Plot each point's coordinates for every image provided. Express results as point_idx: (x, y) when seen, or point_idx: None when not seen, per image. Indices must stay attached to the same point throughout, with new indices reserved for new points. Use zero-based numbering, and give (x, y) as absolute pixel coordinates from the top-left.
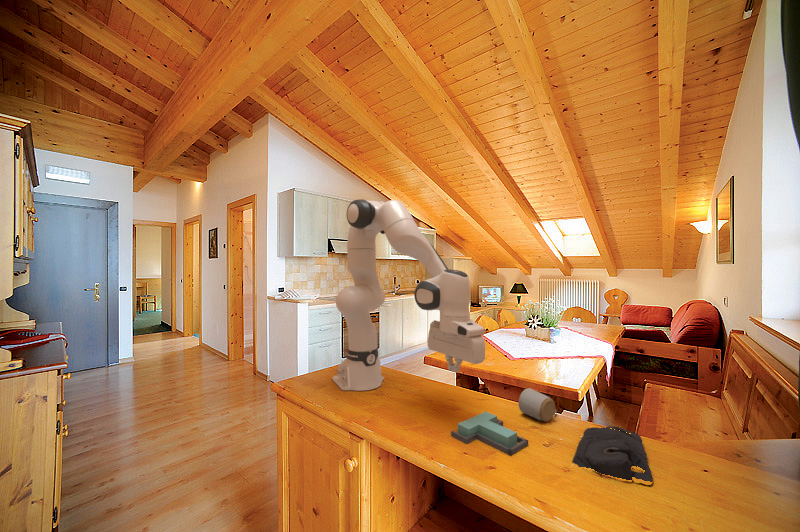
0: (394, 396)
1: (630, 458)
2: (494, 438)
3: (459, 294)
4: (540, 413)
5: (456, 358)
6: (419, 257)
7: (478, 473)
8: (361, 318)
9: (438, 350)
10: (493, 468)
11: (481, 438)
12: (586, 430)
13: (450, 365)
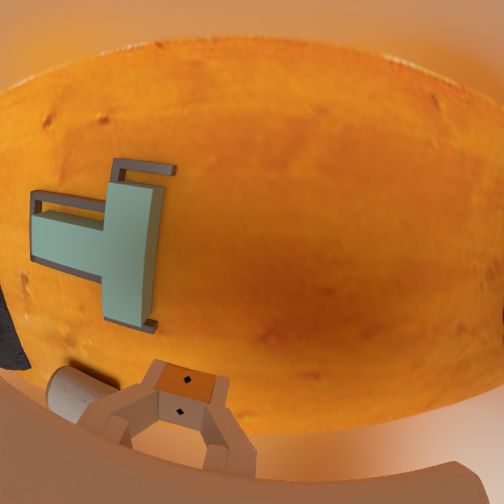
0: (463, 286)
1: None
2: (70, 218)
3: None
4: (57, 370)
5: (92, 431)
6: None
7: (59, 85)
8: None
9: (350, 494)
10: (44, 121)
11: (95, 201)
12: (26, 362)
13: (196, 398)
